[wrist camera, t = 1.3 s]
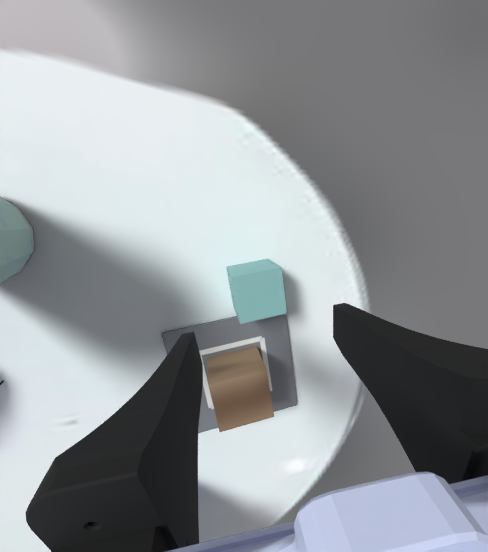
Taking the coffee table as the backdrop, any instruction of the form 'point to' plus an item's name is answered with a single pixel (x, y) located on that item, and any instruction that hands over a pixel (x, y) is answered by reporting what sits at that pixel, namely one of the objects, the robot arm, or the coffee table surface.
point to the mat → (236, 336)
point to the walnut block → (239, 388)
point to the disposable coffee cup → (13, 240)
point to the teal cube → (257, 290)
